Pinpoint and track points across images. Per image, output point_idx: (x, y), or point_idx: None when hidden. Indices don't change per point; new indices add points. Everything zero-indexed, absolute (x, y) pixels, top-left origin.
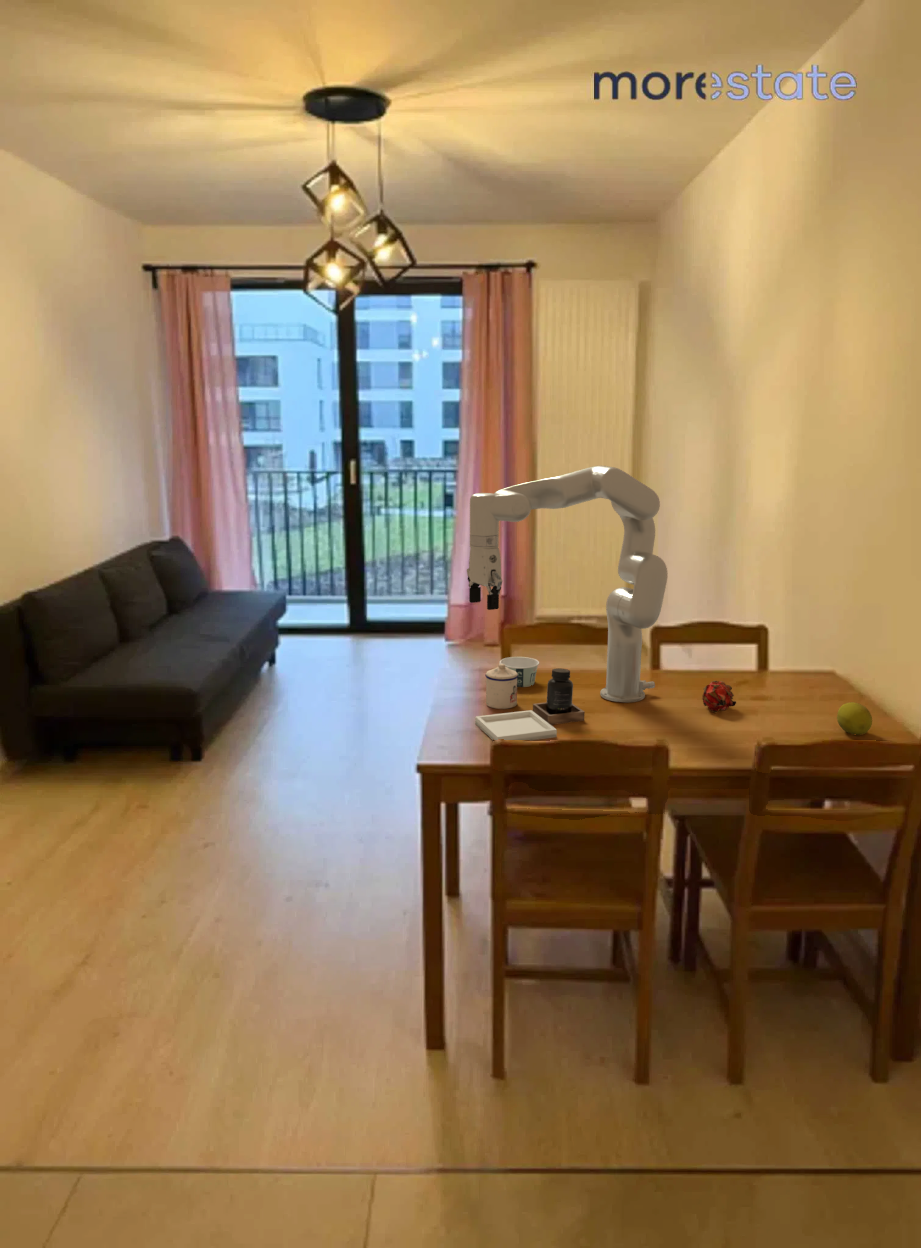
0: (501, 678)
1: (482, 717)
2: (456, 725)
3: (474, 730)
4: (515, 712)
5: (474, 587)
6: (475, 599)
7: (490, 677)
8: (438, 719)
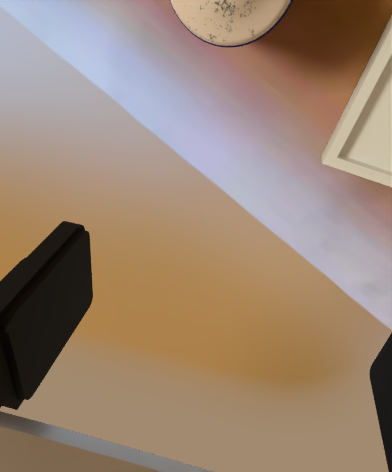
0: (279, 18)
1: (339, 151)
2: (295, 195)
3: (353, 186)
4: (389, 41)
5: (5, 383)
6: (80, 284)
7: (235, 44)
8: (235, 200)
